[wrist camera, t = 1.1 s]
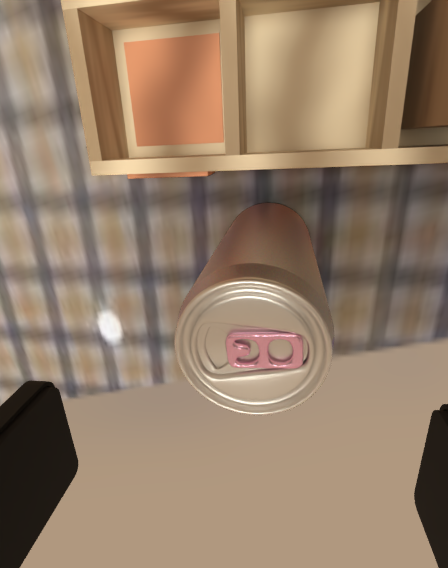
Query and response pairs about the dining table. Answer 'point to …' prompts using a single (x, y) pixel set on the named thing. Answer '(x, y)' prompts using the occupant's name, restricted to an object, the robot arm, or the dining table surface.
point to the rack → (245, 85)
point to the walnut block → (428, 70)
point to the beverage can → (257, 317)
